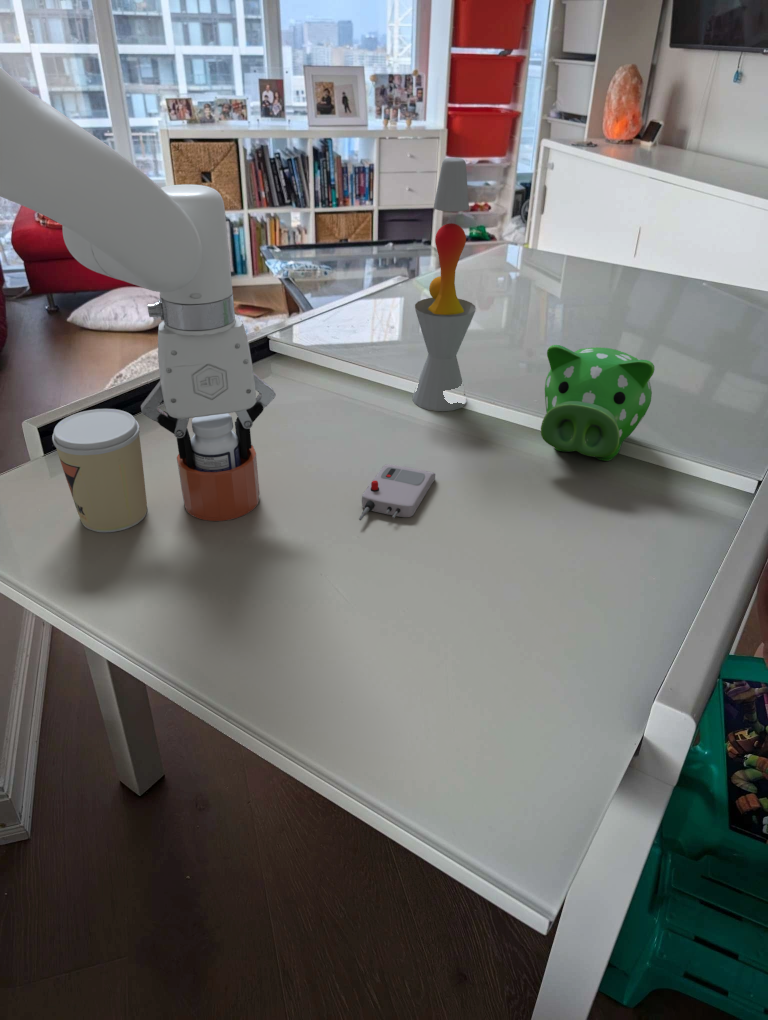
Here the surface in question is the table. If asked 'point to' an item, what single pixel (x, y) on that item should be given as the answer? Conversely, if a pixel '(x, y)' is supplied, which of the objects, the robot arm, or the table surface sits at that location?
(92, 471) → the coffee cup
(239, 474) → the pen cup
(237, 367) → the robot arm
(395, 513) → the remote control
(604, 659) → the table surface
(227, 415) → the pill bottle
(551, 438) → the piggy bank
